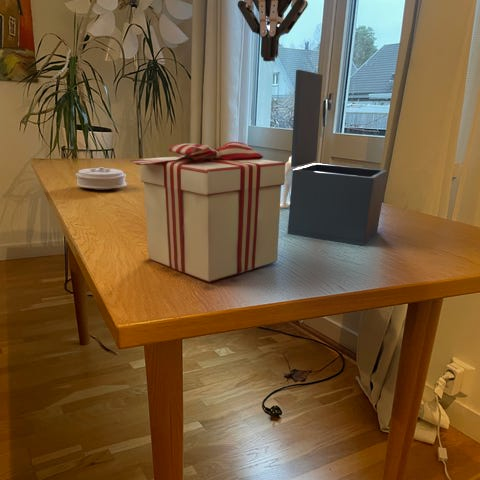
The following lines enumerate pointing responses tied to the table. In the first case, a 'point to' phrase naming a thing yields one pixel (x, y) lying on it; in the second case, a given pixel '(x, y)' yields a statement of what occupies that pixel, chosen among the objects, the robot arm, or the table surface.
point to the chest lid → (306, 117)
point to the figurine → (287, 183)
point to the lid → (101, 178)
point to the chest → (336, 202)
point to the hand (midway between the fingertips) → (268, 61)
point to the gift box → (212, 209)
